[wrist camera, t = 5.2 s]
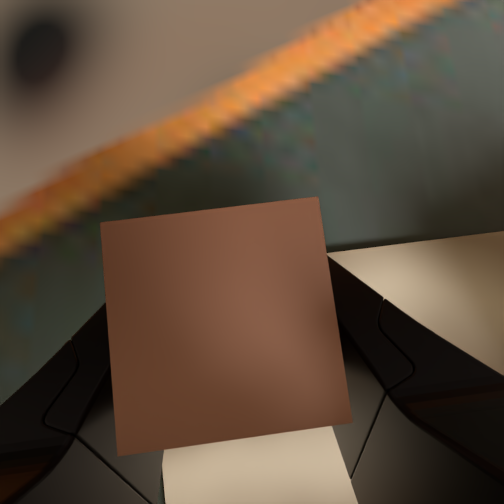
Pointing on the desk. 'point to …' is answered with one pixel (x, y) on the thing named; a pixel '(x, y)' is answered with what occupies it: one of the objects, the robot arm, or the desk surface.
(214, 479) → the birch strip
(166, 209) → the desk surface
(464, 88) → the desk surface
